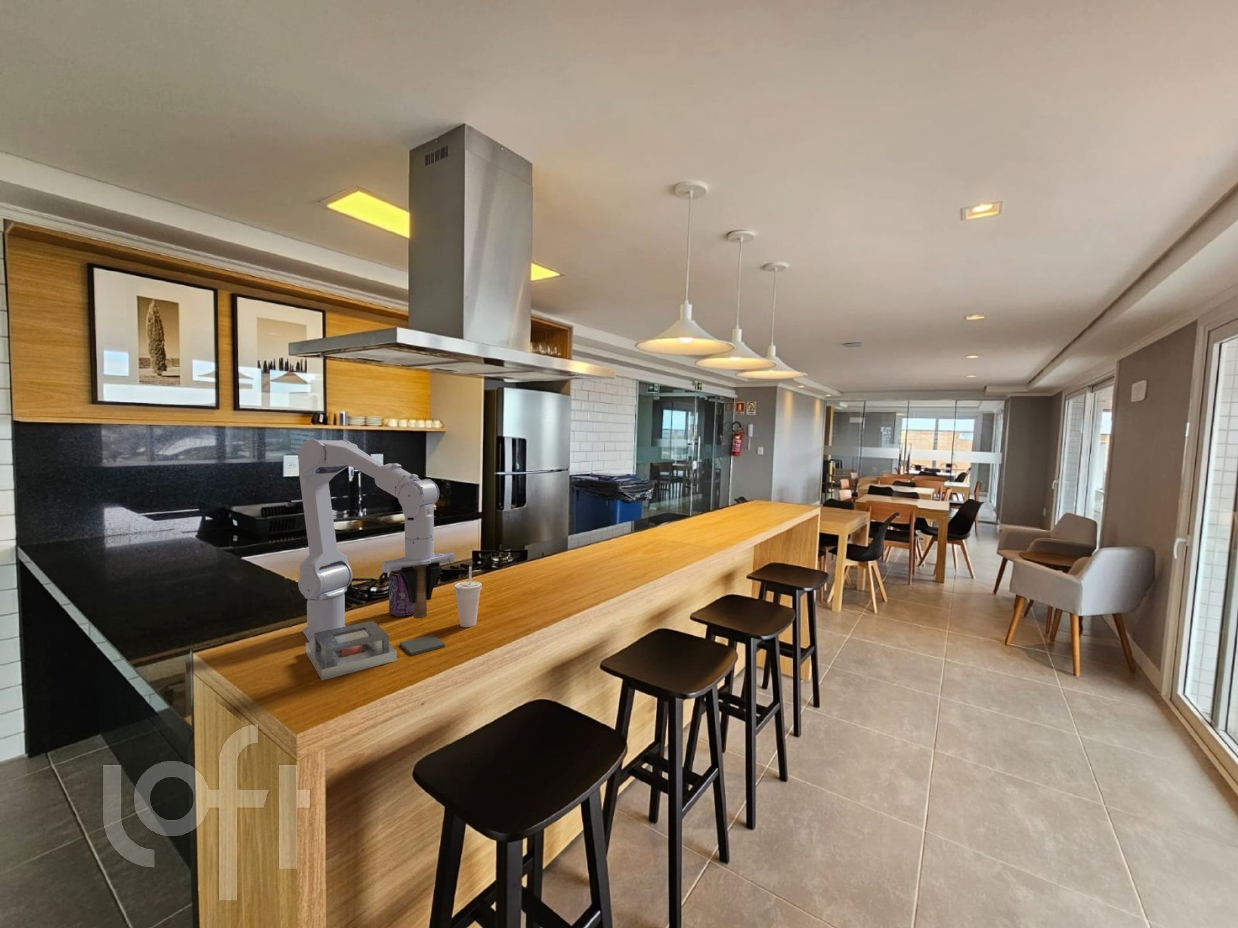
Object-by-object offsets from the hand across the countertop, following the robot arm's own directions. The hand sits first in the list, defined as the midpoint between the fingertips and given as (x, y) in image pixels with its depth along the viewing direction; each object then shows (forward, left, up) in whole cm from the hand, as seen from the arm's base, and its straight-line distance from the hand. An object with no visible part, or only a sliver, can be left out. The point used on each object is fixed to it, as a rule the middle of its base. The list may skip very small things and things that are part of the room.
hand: (419, 600), depth 105 cm
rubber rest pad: (0, 0, -10) cm, 10 cm away
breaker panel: (-4, -13, -10) cm, 16 cm away
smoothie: (-6, +13, -10) cm, 18 cm away
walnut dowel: (0, 0, -3) cm, 3 cm away
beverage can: (-24, +4, -10) cm, 26 cm away
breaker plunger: (-3, -13, -10) cm, 16 cm away
